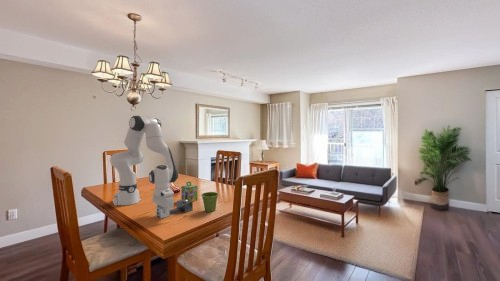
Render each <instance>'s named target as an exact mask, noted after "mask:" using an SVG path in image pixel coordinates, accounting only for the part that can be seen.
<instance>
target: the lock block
mask: <svg viewBox="0 0 500 281" xmlns="http://www.w3.org/2000/svg"><path fill="white" fill-rule="evenodd" d="M169 210H170V209H168V213H167V214H164V211H165V209H164V207H162V206H157V205H156V206H155V217H159V219H164V218H167V217H170V216H171V215H170V211H169Z"/></svg>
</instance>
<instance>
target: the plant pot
mask: <svg viewBox="0 0 500 281" xmlns="http://www.w3.org/2000/svg"><path fill="white" fill-rule="evenodd" d="M219 194H220V193H218V192H215V191H207V192H203V193H201V195H200V196H201V198H202V201H203V207H204V211H205V212H208V213H211V212H214V211H216V208H217V201H218V197H219Z"/></svg>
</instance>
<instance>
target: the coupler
mask: <svg viewBox="0 0 500 281" xmlns="http://www.w3.org/2000/svg"><path fill="white" fill-rule="evenodd" d="M193 202H194V201H193ZM193 202H192V201H189V200H187V199H182V200H181V199H179V200H177V201H176V207H175V208H174V207H173V208H171V209H169V211H170V216H171V215H174V214H177V213H181V212H182V213H188V212H192V211H193V206H194V204H193Z"/></svg>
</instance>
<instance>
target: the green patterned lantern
mask: <svg viewBox="0 0 500 281" xmlns="http://www.w3.org/2000/svg"><path fill="white" fill-rule="evenodd" d="M180 189H181V190H180V191H181V192H180V193H181V194H180V195H181V199H180V200H182V199H187V200H189V201H192V202H195V201H198V186H197V185H194V184H192V181H191V180H190V181H187V182H186V185H183V186H181V187H180Z"/></svg>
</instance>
